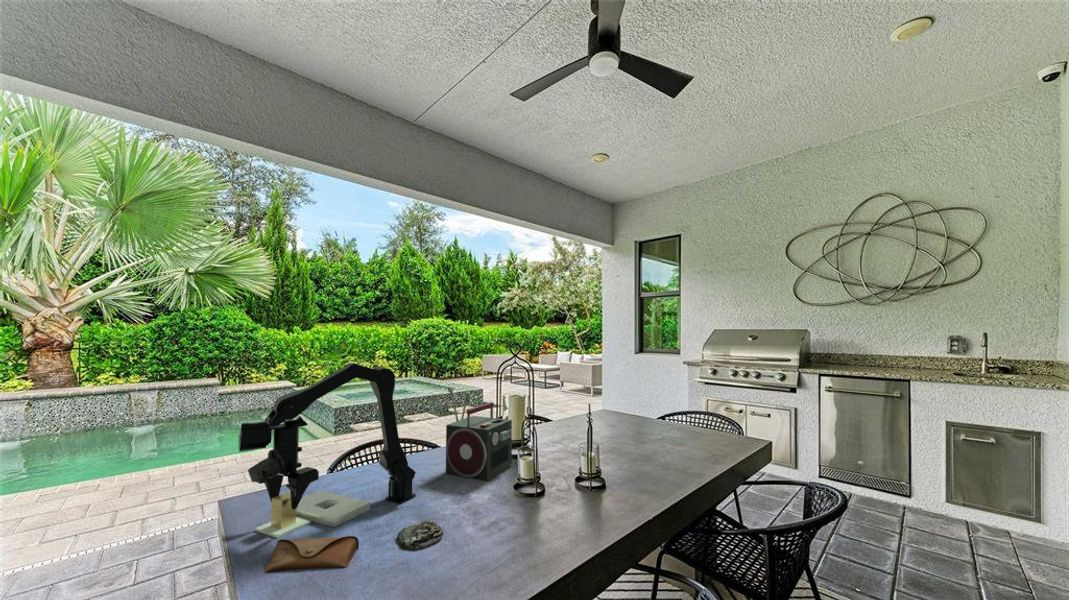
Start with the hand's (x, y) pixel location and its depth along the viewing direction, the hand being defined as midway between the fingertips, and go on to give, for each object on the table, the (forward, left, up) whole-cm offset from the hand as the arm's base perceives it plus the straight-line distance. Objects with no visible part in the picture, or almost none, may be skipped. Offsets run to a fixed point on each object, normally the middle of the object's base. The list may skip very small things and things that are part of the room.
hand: (284, 506), depth 112 cm
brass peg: (0, 0, -5) cm, 5 cm away
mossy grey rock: (-36, -11, -6) cm, 38 cm away
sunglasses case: (-21, +8, -6) cm, 23 cm away
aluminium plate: (-2, -11, -5) cm, 13 cm away
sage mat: (0, 0, -5) cm, 5 cm away
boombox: (-21, -59, -6) cm, 63 cm away
